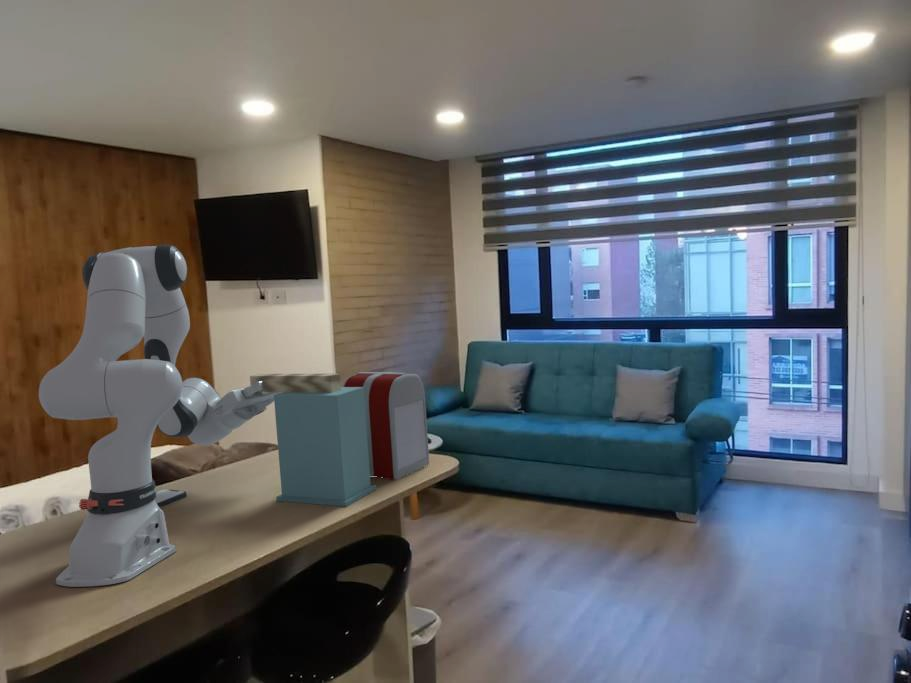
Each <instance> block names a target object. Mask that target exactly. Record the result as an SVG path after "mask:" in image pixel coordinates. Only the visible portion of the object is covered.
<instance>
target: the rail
mask: <svg viewBox="0 0 911 683" xmlns="http://www.w3.org/2000/svg"><path fill="white" fill-rule="evenodd" d="M249 381H250V386H251V385H253V384H255V383H256V382H259V381H262V382H263V384H264V388H262V389H261V390H258V391H257V392H335V391H339V390H341V387H342V386H341V384H342V383H341V373H258V374H257V373H256V374H253V375H249Z"/></svg>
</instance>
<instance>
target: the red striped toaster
mask: <svg viewBox="0 0 911 683" xmlns="http://www.w3.org/2000/svg"><path fill="white" fill-rule="evenodd" d="M342 387H364V399H365V413H366V427H367V441H368V456H369V470H370V476H377V477H383V478H389V479H388V480H392V479H393V480H394V479H397V480H399V478H400V479H402V478H404V477H406V476H408V475H407V474H409V475H411V474H413V473H415V472H417V471H416V470H418V469H420V468H422V467H424V466H426V465H428V464H429V465H430V455H429V437H428V422H427V407H426V406H427V405H426V392H425V387H424V382H422V379H421V378H420V376H419V375H418V374H416V373H408V372H395V371H393V372H392V371H382V372H381V371H380V372H379V371H373V372H372V371H360V372H356V374H352V375H350V376H348V377H347V378H346V379H345V381H344V383H343V385H342ZM426 467H427V466H426ZM424 468H425V467H424ZM422 469H423V468H422ZM420 470H421V469H420ZM414 471H415V472H414ZM418 471H419V470H418ZM412 472H413V473H412ZM410 473H411V474H410ZM405 475H406V476H405ZM403 476H404V477H403ZM401 477H402V478H401ZM383 478H382V479H383Z"/></svg>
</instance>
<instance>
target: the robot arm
mask: <svg viewBox="0 0 911 683" xmlns="http://www.w3.org/2000/svg"><path fill="white" fill-rule="evenodd" d="M81 273H82V281H83V284H84V286H85V288H86V290H87V296H86V309H85V319H84V323H83V324H84V325H83V331H82V333H81V337H80V339H79V341H78V343H77V344H76V346H75V347H74V349H73V350H72V352H71V353H70V354H69V355H68V356H67V357H66V358H65V359H64V360H63V361H62V362H60V363H59V364H58V365H56V366H54V367H53V368H52V369H50V370H48V371H47V372H46V374H45V375H44V376H43V378H42V379H41V381H40V383H39V388H38V400H39V403H40V405H41V407H42V408H43V410H44V412H45V413H47V415H48V416H49V417H52V418H53V419H61V420H72V421H83V420H84V421H85V420H93V419H94V420H95V419H96V420H97V419H104V418H105V419H106V418H117V427H116V429H115V430H113V431H112V432H110V433H109V434H107V435H105V436H103V437H101V438H100V439H99V440H97V441H96V442H95V443H94V444H92V446H91V448H90V449H89V452H88V454H87V455H88V456H87V460H88V468H89V469H88V471H89V478H90V481H89V482H90V490H89V494H88V497H87V498H81V499H80V500H79V503H78V507H79V509H80V511H85V510H86V511H87V515H86V517H85V519H84V520H83V523H82V524H81V526H80V528H79V530H78V531H77V533H76V535H75V536H74V539H73V540H72V542H71V544H70V546H69V552H68V562H69V563H68V565H67V567H66V568H65V569H63V571H62V572H61V573H60V574H58V576H57V577H56V578H55V584H56V585H58V586H63V587H73V588H74V587H75V588H78V587H79V588H80V587H83V588H84V587H85V588H86V587H99V586H108V585H114V584H115V585H116V584H119V583H124V582H127V581H129V580H131V579H133V578H135V577H136V576H138V575H139V574H141V573H143V572H144V571H146V570H148V569H149V568H151V567H153V566H155V565H156V564H158V563H160V562H161V561H162V560H164V559H166V558H167V557H169V556H171V555H172V554H174V553H175V552H177V550H176V546H175V545H174V544H172V543H170V540H169V539H170V538H169V535H168V529H167V523H166V519H165V518H166V517H165V512H164V511H163V510H162V509H161V507H159V506H158V505H157V503H156V501H155V498H156V492H157V486H156V481H155V480H154V479H153V477H152V475H153V473H152V458H151V457H152V455H151V454H152V440H153V437H154V433H155V430H156V428H157V429H158V430H159V432H161V433H162V434H163V435H166V436H167V437H169V438H170V437H171V438H175V439H179V438H180V439H181V438H186V437H188V439H189V440H190V441H191V442H192V443H193V444H195V445H197V446H200V447H208V446H212V445H214V444H216V443H218V442H220V441H221V440H223V439H224V438H226V437H228V436H229V435H230V434H231V433H233V432H232V431H233V430H236V429H238V428H240V427H242V426H243V425H244V424H245V423H247V422H248V421H250V420H251V419H253V418H254V417H257V415H260V414H262V413H263V412H265V411H267V406H270V405H271V404H272V403H274V395H275V394H279V393H282V392H257V391H258V390H261V389H262V388H264V384H263V382H262V381H259V382H256V383H255V384H253V385H251V384H250V386H246V387H243V388H238V389H232V390H229V391H228V392H227V393H225V395H223V396H222V397H221V396H220V394H219V393H218V392H217V390H216V389H215V388H214V387H213V385H212V384H210V383H209V382H208V381H207V380H205V379H203V378H201V377H197V376H195V377H188V378H185V379H184V380H183V379H182V375H181V373H180V371H179V370H178V368H177V366H176V362H177V357H178V354H179V351H180V349H181V347H182V346H183V343H184V341H185V339H186V337H187V336H188V333H189V331H190V328H191V322H190V321H191V320H190V314H189V313H190V312H189V309H188V306H187V303H186V300H185V297H184V294H183V292H182V289H181V287H182V286H183V285H184V284H185V282H186V281H187V277H188V266H187V262H186V259H185V258H184V255H183V253H182V251H181V250H180V249H178V247H176V246H175V245H172V244H157V245H156V246H155V245H151V246H149V245H147V246H145V245H144V246H135V247H131V246H130V247H129V246H128V247H124V248H120V249H114V250H110V251H107V252H98V253H95V254H92V255H91V256H88V257H87V259H86V260H85V262H84V263H83V264H82V270H81ZM142 340H143V341H144V342H143V346H144V347H143V348H144V349H143V350H144V352H143V353H144V358H142V359H140V358H139V359H127V360H119V358H120V357H121V356H122V355H124V354H126V353H128V352H129V351H131V350H133V349H134V348H135V347H137V346H138V345H139V344H140V343H141V342H142Z"/></svg>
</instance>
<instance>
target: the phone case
mask: <svg viewBox="0 0 911 683" xmlns="http://www.w3.org/2000/svg"><path fill="white" fill-rule="evenodd" d="M187 495H188V494H187V491H185V490H176V489H168V488H165V489H161V490H159V491H156V498H155V501H156V503H157V505H158V506H159V508H161V507H163V505H164V506H166V505H165V504H167V505H169V504H171V502H172V503H174V502H177V501H179V500H181V499H184V498H187ZM160 506H161V507H160Z"/></svg>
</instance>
